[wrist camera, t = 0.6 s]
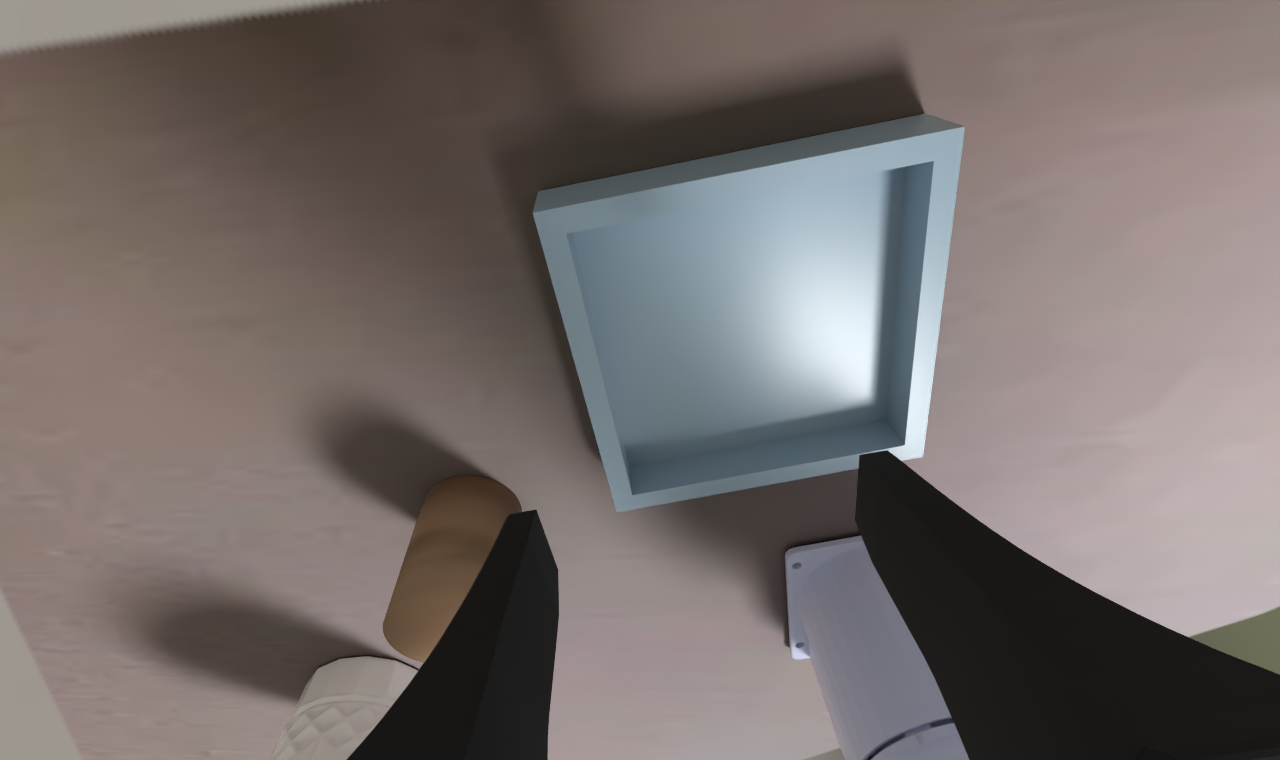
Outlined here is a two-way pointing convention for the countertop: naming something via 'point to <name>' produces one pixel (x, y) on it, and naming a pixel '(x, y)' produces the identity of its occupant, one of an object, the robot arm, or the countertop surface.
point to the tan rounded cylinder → (444, 559)
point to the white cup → (341, 707)
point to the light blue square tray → (757, 307)
